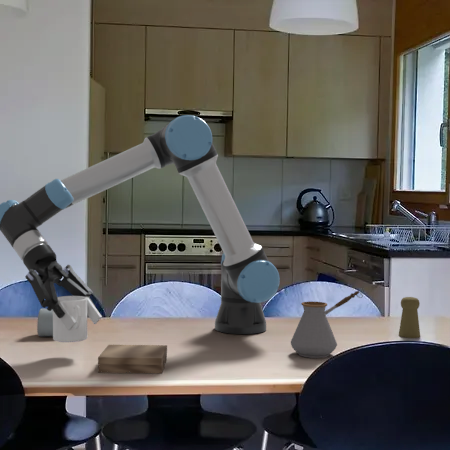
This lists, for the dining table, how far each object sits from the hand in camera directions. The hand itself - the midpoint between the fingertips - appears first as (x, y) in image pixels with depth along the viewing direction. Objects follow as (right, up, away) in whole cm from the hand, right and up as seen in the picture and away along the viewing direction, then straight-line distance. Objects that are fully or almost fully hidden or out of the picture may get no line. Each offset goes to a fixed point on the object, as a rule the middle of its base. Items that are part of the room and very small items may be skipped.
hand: (85, 323), depth 165 cm
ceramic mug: (-15, -8, +29) cm, 34 cm away
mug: (-3, -4, +1) cm, 6 cm away
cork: (+86, -8, +33) cm, 92 cm away
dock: (+12, -9, -5) cm, 16 cm away
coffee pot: (+59, -9, +11) cm, 61 cm away
